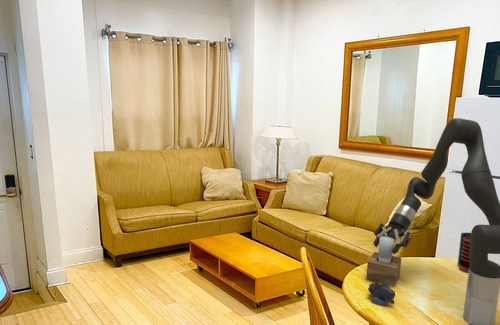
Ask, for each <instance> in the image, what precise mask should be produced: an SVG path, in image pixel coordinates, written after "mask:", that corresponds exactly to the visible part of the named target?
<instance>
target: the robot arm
mask: <svg viewBox="0 0 500 325" xmlns="http://www.w3.org/2000/svg"><path fill="white" fill-rule="evenodd" d="M454 143H456V144H463V145H464V146H465V149H466V151H467V153H466V154H467V159H466V162H465V163H464V166H463V168H462V170H461V180H462V184H463V189H464V192H465V194H466V196H468V198H469V200H470V201H472V202H473V204H474V205H475V206H477V208H478V209H480V211H482V213H483V214H484V215H485V218H486V220H487V222H488V224H475V225H474V226H473V228H472V229H471V231H470V233H471V236H470V251H469V263H470V266H469V274H468V273H467V274H468V275H467V282H466V291H465V298H464V306H463V312H462V313H463V314H462V317H463V319H464V321H466V322H467V324H468V325H496V317H497V312H498V304H499V297H500V264H498V263H496V262H495V261H493V260H490V259H489V255H490V254H491V255H500V200H499V196H498V194H497V190H496V186H495V182H494V178H493V176H492V172H491V170H490V169H491V168H490V166H489V162H488V158H487V155H486V149H485V144H484V143H485V142H484V137H483V132H482V129H481V125H480V124H479V122H477V121H475V120H471V119H465V118H461V117H460V118H459V117H456V118H452V119H450V120H449V121H448V122H447V124H446V125H445V127H444V129H443V131H442V133H441V134H440V138H439V139H438V143H437V144H436V146H435V149H434V152H433V153H432V155H431V157H430V159H429V161H428V162H427V163H426V165H425V166H424V168H423V169H422V171H421V173H420V175H421V177H422V178H421V177H418V176H414V177H413V178H411V179H410V180H409V182H408V184H407V190H406V194H405V197H403V200H402V201H401V203H400V204H399V206H398V207H397V209H396V210H395V211H394V213H393V215H392V216H391V218H390V220H389V222H388V224H387V225H385V224H384V223H383V222H381V223H380V224H379V225H378V226H377V228H376V230H374V232H373V234H374V236H375V239H374V241H373V246H374V247H376V248H378V247H379V241H380V237H382V236H386V237H391V238H393V239H394V240H396V243H394V245H393V249H392V255H395V254H397V253H398V252H399V250H400V248H402V247H404V248H408V245H409V243H410V242H411V241H410V240H411V239H412V234H411V232H410V231H408V230H409V228H410V225H412V223H413V221H414V219H415V216H416V215H417V213H418V211H419V210H420V208H421V206H422V201H421V200H420V199H419V198H418V197H420V198H421V199H423V200H428V199H431V198H432V197H433V195H434V192H435V188H436V185H437V183H438V181H439V180H440V178H441V177H442V175H443V174H444V172H446V169H447V167H448V151H449V149H450V148H451V146H452V145H453V144H454ZM402 237H403V239H402Z"/></svg>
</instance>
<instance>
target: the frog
mask: <svg viewBox="0 0 500 325" xmlns="http://www.w3.org/2000/svg"><path fill="white" fill-rule="evenodd" d="M376 282H378V280H376ZM376 282H372V283H370V284H369V286H368V288H367V291H368V293H370V294H371V296H370V301H371V302H372V303H374V304H376V305H379V306H382V307H388V303H387V302H392V304H395V300H394V299H395V297H396V291H395V290H393V289H391V286H388V285H384V284H380V282H378V283H376Z"/></svg>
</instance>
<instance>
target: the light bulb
mask: <svg viewBox="0 0 500 325" xmlns="http://www.w3.org/2000/svg"><path fill="white" fill-rule="evenodd" d="M394 244H395V243H394V239H393V238H391V237H386V236H382V237H380V241H379V245H378V252H377V253H378V255H379V261H381V262H385V263H390V264H391V257H392V256H393V253H392V249H393V248H394Z"/></svg>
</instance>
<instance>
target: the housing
mask: <svg viewBox="0 0 500 325" xmlns="http://www.w3.org/2000/svg"><path fill="white" fill-rule="evenodd" d="M401 264H402V257H398V256H394V255H392V257H391V264H390V263H385V262H381V261H379V255H378V252H377V251H376V252H375V251H374V252H373V253H372V255H371V256H370V258H369V259H368V261H367V264H366V265H367V266H366V277H365V278H366V279H365V281H369V282H372V283H375V282H376V280H378V282H380V283H378V282H376V283H378V284H384V285H387V286H389V287H390V288H391V287H392V288H395V287H396V285H397V283H398V281H399V278H400V276H401V274H400V273H401Z"/></svg>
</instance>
